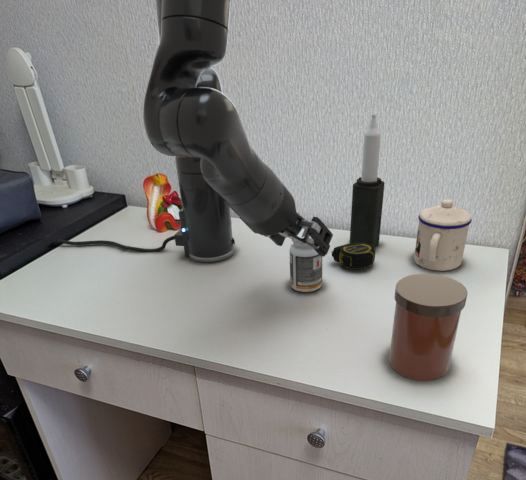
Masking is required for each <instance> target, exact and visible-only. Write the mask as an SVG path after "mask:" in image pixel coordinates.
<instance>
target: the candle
mask: <svg viewBox="0 0 526 480" xmlns="http://www.w3.org/2000/svg"><path fill="white" fill-rule="evenodd" d="M376 117H377V113H376V112H373V113H372V114H371V119H370V123H369V125H368V126H367V127H368V128H367V129H366V130H365V132H364V134H363V146H362V148H363V149H362V161H361V162H362V163H361V176H360V177H358V178H356V182H354V183H353V184H352V192H351V193H352V195H351V209H350V210H351V211H350V229H349V244H350V243H354V242H364V243H367V244H371V245H372V246H373V247H374V248H375V249H376V248H377V247H379V245H380V235H381V225H382V216H383V206H384V193H385V184H386V183H385V181H384V180H382V178H380V177H378V174H379V173H378V172H379V161H380V160H379V159H380V149H381V148H380V147H381V137H382V133H381V131H380V129H379V127H378V122H377V118H376Z"/></svg>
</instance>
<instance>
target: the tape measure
mask: <svg viewBox="0 0 526 480" xmlns="http://www.w3.org/2000/svg"><path fill="white" fill-rule="evenodd" d="M331 257H332V258H333V261H334V262H336V263H339V264H340V265H341V266H342V267H344V268H346V269H348V270H349V269H350V270H364V269H367V268H370V267H372V266H373V265H374V263H375V260H376V248H374V247H373V246H372V245H371V244H367V243H364V242H354V243H350V242H349V243H346V244H342V245H339V246H335V247H334V248H333V249H332V250H331Z"/></svg>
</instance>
